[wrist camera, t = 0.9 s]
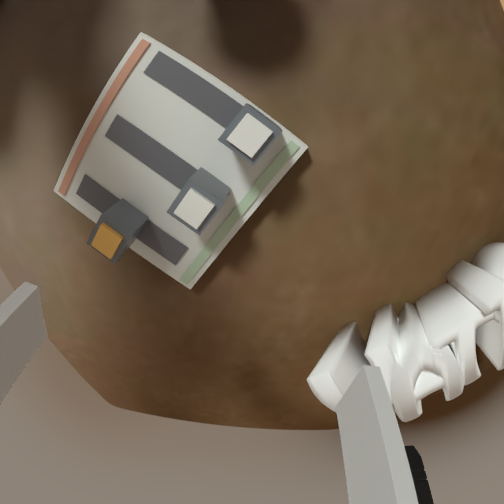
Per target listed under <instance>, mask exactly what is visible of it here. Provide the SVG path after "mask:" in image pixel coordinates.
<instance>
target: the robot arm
mask: <svg viewBox="0 0 504 504" xmlns="http://www.w3.org/2000/svg"><path fill="white" fill-rule="evenodd" d="M47 337H48V336H47V331H46V326H45V322H44V316H43V311H42V306H41V300H40V294H39V287H38V286H36V285H33V284H31V283H28V282H24V283H23V284H22V285H21V286H19V287H18V288H17V289H16V290H15V291H14V292H13V293H12V294H11V295H10V296H9V297H8V298H7V299H6V300H5V301H4V302H3V303H2V304H1V305H0V404H1V402H2V401H3V399H4V398H5V396H6V395H7V393H8V391H9V390H10V389H11V387H12V385H13V384H14V383H15V381H16V380H17V378H18V377H19V375H20V374H21V373H22V371H23V370H24V368H25V367H26V365H27V364H28V363H29V361H30V359H31V358H32V357H33V355H34V354H35V353H36V352H37V350H38V349H39V348H40V346H41V345H42V343H43V342H44V341H45V339H46V338H47ZM336 412H337V418H338V424H339V431H340V437H341V444H342V451H343V458H344V465H345V472H346V481H347V489H348V497H349V504H434V503H433V499H432V495H431V491H430V487H429V484H428V481H427V480H426V479H427V476H426V473H425V471H424V465H423V462H422V458H421V456H420V455H419V453H418V451H417V450H416V449H415V447H414V446H404V444H403V440H402V437H401V434H400V430H399V426H398V423H397V420H396V416H395V413H394V410H393V407H392V403H391V400H390V397H389V394H388V391H387V388H386V384H385V381H384V378H383V375H382V372H381V369H380V367H377V366H368V365H363V366H362V368H361V369H360V371H359V372H358V374H357V376H356V377H355V379H354V380H353V382H352V383H351V385H350V386H349V388H348V389H347V391H346V392H345V394H344V395H343V397H342V398H341V400H340V401H339V403H338V404H337V406H336Z"/></svg>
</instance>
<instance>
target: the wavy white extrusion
mask: <svg viewBox="0 0 504 504" xmlns="http://www.w3.org/2000/svg"><path fill="white" fill-rule="evenodd" d="M447 281H448V283H445V284H443V285H441V286H439V287H437V288H435V289H433V290H432V291H430V292H428V293H426V294H425V295H423V296H422V297H420V298H419V299H417V300H416V301H415V304H410V303H406V304H405V305H404V306H403V308H402V310H401V311H400V313H399V315H398V317H397V315H396V312H395V310H394V308H393V307H392V305H391V304H388V305H385V306H383V307H381V308H379V309H378V310H376V311H375V315H374V319H373V323H372V327H371V331H370V335H369V339H368V342H367V344H366V343H365V342H364V340H363V338H362V337H361V335H360V332H359V330H358V327H357V324H356V321H355V322H352V323H350V324H348V325H346V326H344V327H342V328H341V329H339V331H338V332H337V334H336V336H335V337H334V339H333V340H332V342H331V343H330V345H329V347H328V348H327V350H326V351H325V353H324V354H323V356H322V357H321V359H320V360H319V362H318V363H317V365H316V366H315V368H314V369H313V371H312V372H311V374H310V375H309V377H308V378H307V382H308V384H309V386H310V388H311V390H312V392H313V393H314V395H315V396H316V397H317V398H318V399H319V400H320V401H321V403H323V404H324V405H325V406H326V407H328V408H329V409H331V410H332V411H334V412H336V406H337V404H338V403H339V401H340V400H341V398H342V397H343V395H344V394H345V392H346V391H347V389H348V388H349V386H350V385H351V383H352V382H353V380H354V379H355V377H356V376H357V374H358V372H359V371H360V369H361V368H362V366H363V365H368V366H377V367H380V369H381V372H382V375H383V378H384V381H385V384H386V388H387V391H388V394H389V397H390V400H391V403H392V407H393V410H394V411H395V412H396V414H397V415H398V416H399V418H400V419H401V420H402V421H404V422H407V421H410V420H413V419H415V418H417V417H418V416H420V414H422V406H421V399H422V398H424V397H425V396H427V395H429V394H431V393H433V392H435V391H437V390H439V389H441V388H443V392H444V394H445V398H446V401H448V400H449V401H450V400H452V399H454V398H456V397H457V396H459V395H460V394H461V393H462V391H463V387H464V385H467V384H470V383H471V382H473V381H475V380H476V379H478V378H479V377H480V376H481V373H480V371H479V368H478V364H477V358H476V346H475V343H476V344H477V345H478V346H479V347H480V349H481V350H482V351H483V352H484V354H485V355H486V356H487V357H488V359H489V360H490V361H491V362H492V364H493V365H494V366H495V367H496V368H497V370H501V369H503V368H504V243H489V244H487V245H485V246H484V247H482V248H481V249H480V250H479V251H478V252H477V254H476V255H475V257H474V259H473V261H472V263H471V264H470V263H468V262H466V261H463V260H462V261H460V262H459V263H457V264H456V265H455V266H454V267H453V268H452V269H451V270H450V271H449V272H448V273H447ZM336 413H337V412H336Z"/></svg>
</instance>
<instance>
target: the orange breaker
mask: <svg viewBox="0 0 504 504" xmlns="http://www.w3.org/2000/svg"><path fill="white" fill-rule="evenodd" d="M148 218H149V217H148V216H147V215H145V214H144V213H142V212H141V211H140V210H138V209H137V208H135V207H134V206H133V205H131V204H130V203H128V202H127V201H126V200H124V199H123V198H122V199H121V200H119V201H118V202H117V203H115V204H114V205H113V206H112V207H110V208H109V209H108V210H106V211H105V212H104V213H102V214H101V216H100V218H99V220H98V222H97V224H96V226H95V228H94V230H93V232H92V234H91V236H90V238H89V240H88V242H87V244H89V245H90V246H91V247H93V248H94V249H95V250H97V251H98V252H99V253H101V254H102V255H104V256H105V257H106V258H108V259H109V260H110V261H112V262H113V263H115V264H116V263H117V261H118V260H119V259H120V258H121V257H122V255H123V254H124V253H125V252H126V251H127V249H128V248H129V247H130V246H131V245H132V244H133V242H134V241H135V239H136V237H137V236H138V234H139V233H140V231H141V229H142V228H143V226H144V224H145V223H146V221H147V220H148Z"/></svg>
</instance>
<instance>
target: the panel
mask: <svg viewBox="0 0 504 504" xmlns="http://www.w3.org/2000/svg"><path fill="white" fill-rule="evenodd" d="M307 148H308V146H307V145H306V144H305V143H304V142H302V141H301V140H300V139H299V138H297V137H296V136H295V135H294V134H292V133H291V132H290V131H289V130H287V129H286V128H285V127H284V126H282V125H281V124H280V123H278V122H277V121H276V120H274V119H273V118H272V117H271V116H269V115H268V114H267V113H265V112H264V111H263V110H261V109H260V108H259V107H257V106H256V105H254V104H253V103H252V102H250V101H249V100H248V99H246V98H245V97H243V96H242V95H241V94H239V93H238V92H236V91H235V90H234V89H232V88H231V87H229V86H228V85H226V84H225V83H223V82H222V81H220V80H219V79H218V78H216V77H215V76H213V75H212V74H210V73H209V72H207V71H205V70H204V69H202V68H201V67H199V66H198V65H196V64H195V63H193V62H191V61H190V60H188V59H187V58H185V57H184V56H182V55H180V54H179V53H177V52H175V51H174V50H172V49H170V48H169V47H167V46H165V45H164V44H162V43H160V42H159V41H157V40H155V39H153V38H152V37H150V36H148V35H146V34H144V33H142V32H141V33H140V34H139V35H138V37H137V38H136V40H135V41H134V42H133V44H132V45H131V47H130V48H129V50H128V51H127V53H126V54H125V56H124V57H123V59H122V60H121V62H120V63H119V65H118V66H117V68H116V69H115V71H114V72H113V74H112V76H111V77H110V79H109V81H108V82H107V84H106V85H105V87H104V89H103V91H102V92H101V94H100V96H99V97H98V99H97V101H96V103H95V105H94V106H93V108H92V110H91V112H90V114H89V116H88V117H87V119H86V121H85V123H84V125H83V127H82V129H81V131H80V133H79V135H78V137H77V139H76V141H75V143H74V145H73V147H72V149H71V152H70V154H69V156H68V158H67V160H66V163H65V165H64V167H63V169H62V172H61V174H60V176H59V179H58V181H57V184H56V186H55V189H54V192H56V193H57V194H58V195H59V196H61V197H62V198H63V199H64V200H66V201H67V202H68V203H70V204H71V205H72V206H74V207H75V208H76V209H77V210H79V211H80V212H81V213H83V214H84V215H85V216H87V217H88V218H89V219H91V220H92V221H93V222H95V223H96V224H97V222H98V220H99V218H100V216H101V214H102V213H104V212H105V211H106V210H108V209H109V208H110V207H112V206H113V205H114V204H115V203H117V202H118V201H119V200H121V199H122V198H123V199H124V200H126V201H127V202H128V203H130V204H131V205H133V206H134V207H135V208H137V209H138V210H140V211H141V212H142V213H144V214H145V215H147V216H148V217H149V218H148V220H147V221H146V223H145V224H144V226H143V228H142V229H141V231H140V233H139V234H138V236H137V237H136V239H135V241H134V242H133V244H132V245H131V246H130V247H129V248H130V249H132V250H133V251H135V252H136V253H137V254H139V255H140V256H142V257H143V258H145V259H146V260H147V261H149V262H150V263H152V264H153V265H155V266H156V267H158V268H159V269H160V270H162V271H163V272H165V273H166V274H168V275H169V276H171V277H172V278H174V279H175V280H177V281H178V282H180V283H181V284H183V285H184V286H186V287H187V288H189V289H190V290H191V288H192V287H193V286H194V285H195V283H196V282H197V281H198V280H199V278H200V277H201V276H202V275H203V273H204V272H205V271H206V270H207V268H208V267H209V266H210V265H211V263H212V262H213V261H214V260H215V259H216V257H217V256H218V255H219V254H220V252H221V251H222V250H223V249H224V247H225V246H226V245H227V244H228V243H229V241H230V240H231V239H232V238H233V236H234V235H235V234H236V233H237V232H238V230H239V229H240V228H241V227H242V226H243V224H244V223H245V222H246V221H247V219H248V218H249V217H250V216H251V215H252V213H253V212H254V211H255V210H256V209H257V207H258V206H259V205H260V204H261V203H262V201H263V200H264V199H265V198H266V197H267V195H268V194H269V193H270V192H271V191H272V189H273V188H274V187H275V186H276V185H277V183H278V182H279V181H280V180H281V179H282V177H283V176H284V175H285V174H286V173H287V172H288V170H289V169H290V168H291V167H292V166H293V164H294V163H295V162H296V161H297V160H298V159H299V157H300V156H301V155H302V154H303V153H304V152H305V150H306V149H307Z"/></svg>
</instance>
